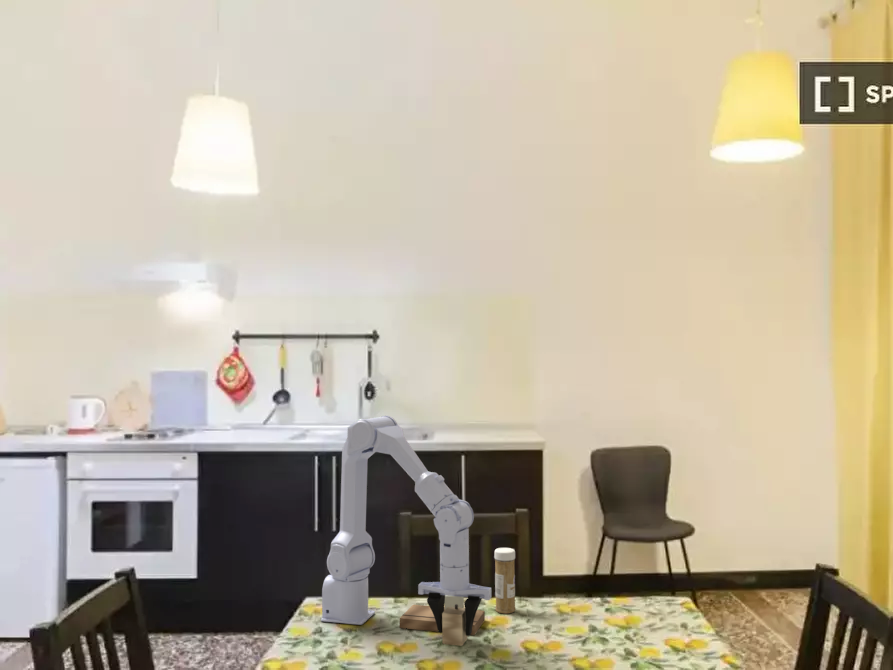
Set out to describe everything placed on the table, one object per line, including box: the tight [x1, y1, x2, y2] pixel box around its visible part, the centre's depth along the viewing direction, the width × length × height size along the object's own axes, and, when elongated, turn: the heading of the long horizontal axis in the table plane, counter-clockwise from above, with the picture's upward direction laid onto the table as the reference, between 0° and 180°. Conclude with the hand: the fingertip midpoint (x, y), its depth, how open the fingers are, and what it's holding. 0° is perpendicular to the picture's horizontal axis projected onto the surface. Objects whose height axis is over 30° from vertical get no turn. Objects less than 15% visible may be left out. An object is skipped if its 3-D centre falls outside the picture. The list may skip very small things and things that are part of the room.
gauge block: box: [441, 604, 468, 647], centre depth 157 cm, size 4×4×7 cm
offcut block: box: [444, 595, 465, 609], centre depth 168 cm, size 4×4×4 cm
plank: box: [399, 604, 486, 636], centre depth 167 cm, size 16×9×2 cm, turn 74°
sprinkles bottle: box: [493, 547, 516, 615], centre depth 175 cm, size 5×5×14 cm
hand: (454, 632), depth 157 cm, fingers open, 5 cm apart
